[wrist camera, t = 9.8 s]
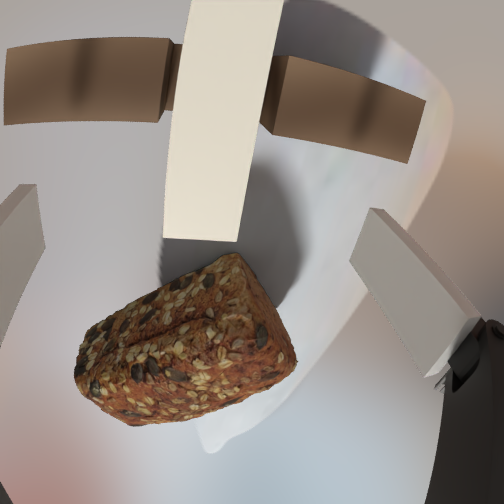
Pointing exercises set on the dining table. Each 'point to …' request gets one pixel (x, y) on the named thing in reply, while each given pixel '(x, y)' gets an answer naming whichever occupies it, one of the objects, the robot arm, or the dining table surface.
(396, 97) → the walnut rail
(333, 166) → the dining table surface
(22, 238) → the robot arm
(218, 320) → the bread
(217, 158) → the cream bar
